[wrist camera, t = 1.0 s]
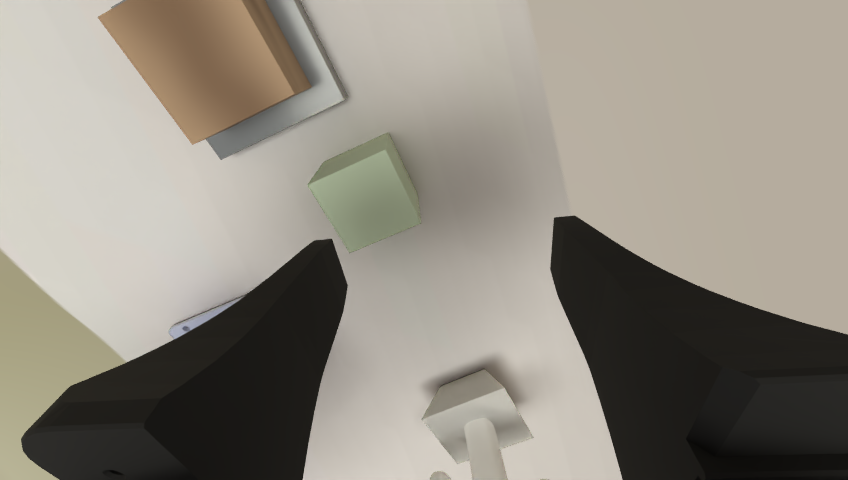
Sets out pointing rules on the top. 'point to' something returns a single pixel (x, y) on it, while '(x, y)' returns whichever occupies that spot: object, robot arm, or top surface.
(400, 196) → the green cube
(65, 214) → the top surface
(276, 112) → the base tile
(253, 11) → the walnut block
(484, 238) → the top surface
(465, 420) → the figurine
